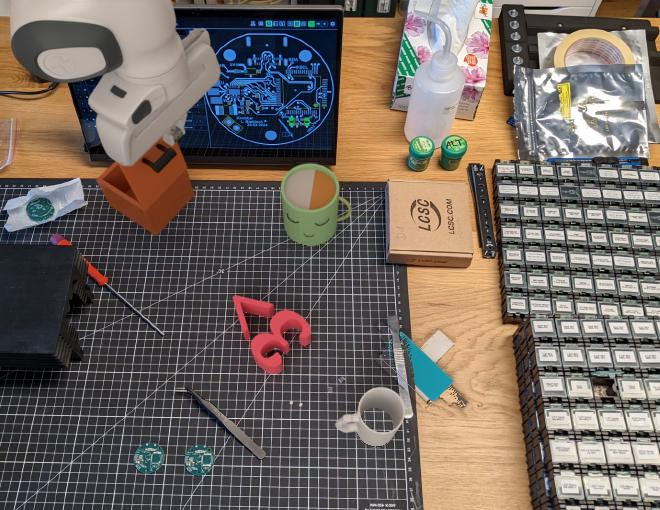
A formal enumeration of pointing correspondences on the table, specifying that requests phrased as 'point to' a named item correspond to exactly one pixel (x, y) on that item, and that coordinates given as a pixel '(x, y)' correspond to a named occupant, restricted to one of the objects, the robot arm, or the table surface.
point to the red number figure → (278, 327)
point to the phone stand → (430, 367)
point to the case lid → (154, 172)
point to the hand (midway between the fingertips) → (175, 137)
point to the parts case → (129, 205)
